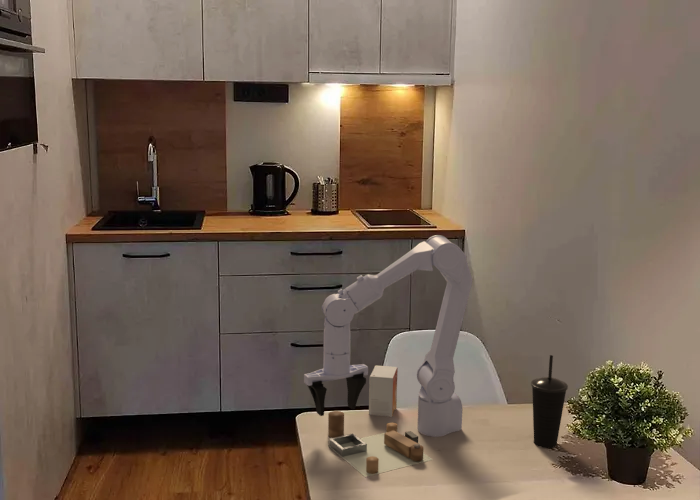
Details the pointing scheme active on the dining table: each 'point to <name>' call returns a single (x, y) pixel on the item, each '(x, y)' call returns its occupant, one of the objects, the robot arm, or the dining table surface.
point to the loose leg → (335, 424)
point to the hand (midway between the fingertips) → (336, 410)
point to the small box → (383, 391)
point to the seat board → (380, 454)
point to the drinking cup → (547, 408)
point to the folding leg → (404, 445)
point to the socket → (357, 448)
